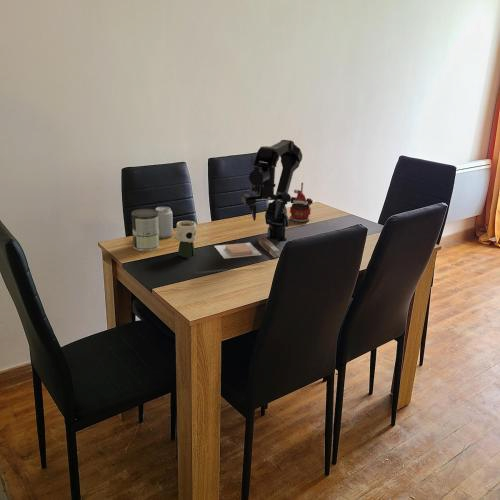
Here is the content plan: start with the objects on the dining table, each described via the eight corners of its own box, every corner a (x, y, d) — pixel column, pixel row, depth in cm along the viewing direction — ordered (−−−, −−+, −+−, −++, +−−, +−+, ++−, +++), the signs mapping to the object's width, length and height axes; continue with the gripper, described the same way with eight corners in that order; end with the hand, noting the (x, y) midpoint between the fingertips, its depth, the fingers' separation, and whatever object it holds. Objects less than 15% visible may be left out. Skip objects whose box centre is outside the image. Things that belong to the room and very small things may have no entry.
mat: (249, 244, 206) (249, 242, 206) (261, 256, 194) (261, 254, 194) (214, 247, 201) (214, 245, 201) (224, 260, 189) (224, 258, 189)
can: (169, 239, 209) (168, 211, 204) (152, 237, 210) (151, 210, 206) (175, 233, 215) (174, 206, 211) (158, 232, 217) (157, 205, 212)
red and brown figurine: (312, 218, 243) (314, 181, 237) (309, 223, 235) (312, 185, 228) (290, 216, 246) (292, 179, 239) (287, 221, 237) (289, 184, 231)
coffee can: (127, 247, 199) (125, 212, 194) (146, 240, 207) (145, 207, 202) (145, 253, 193) (144, 218, 188) (165, 246, 201) (164, 212, 196)
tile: (244, 243, 201) (252, 250, 193) (244, 246, 201) (252, 254, 193) (225, 244, 198) (232, 252, 190) (225, 248, 199) (232, 256, 191)
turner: (264, 244, 206) (264, 236, 205) (279, 258, 192) (280, 250, 191) (258, 245, 206) (259, 237, 204) (273, 259, 192) (273, 250, 190)
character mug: (184, 262, 186) (183, 228, 181) (169, 257, 190) (168, 224, 185) (203, 254, 194) (203, 221, 190) (189, 250, 198) (188, 218, 193)
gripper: (280, 174, 204) (278, 212, 209) (237, 176, 197) (236, 215, 203) (292, 180, 194) (290, 219, 199) (246, 183, 188) (245, 223, 193)
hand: (265, 219), depth 199 cm, fingers open, 9 cm apart
